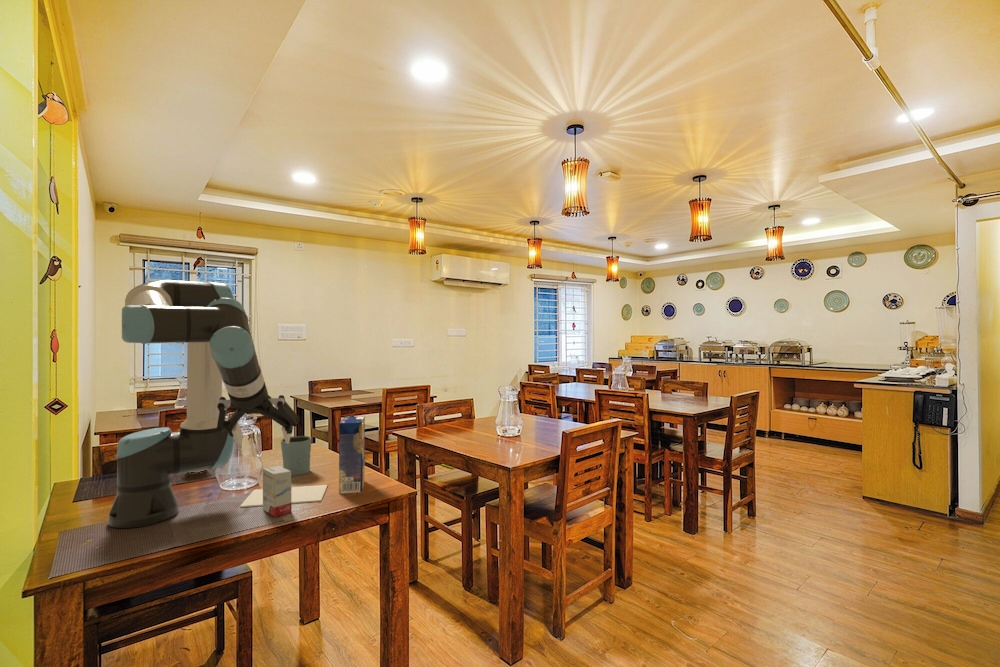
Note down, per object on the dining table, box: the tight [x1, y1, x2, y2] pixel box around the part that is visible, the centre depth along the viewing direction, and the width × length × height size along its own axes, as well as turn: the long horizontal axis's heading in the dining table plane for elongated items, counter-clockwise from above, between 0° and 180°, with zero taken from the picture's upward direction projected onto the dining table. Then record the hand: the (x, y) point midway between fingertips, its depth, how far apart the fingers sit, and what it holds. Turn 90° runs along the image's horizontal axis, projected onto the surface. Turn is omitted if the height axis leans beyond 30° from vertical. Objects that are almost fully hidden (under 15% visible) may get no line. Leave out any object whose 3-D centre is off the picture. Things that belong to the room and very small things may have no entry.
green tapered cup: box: [280, 435, 312, 477], centre depth 167 cm, size 10×10×12 cm
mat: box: [239, 484, 329, 508], centre depth 143 cm, size 22×14×1 cm, turn 103°
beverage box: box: [338, 415, 366, 495], centre depth 151 cm, size 7×11×22 cm, turn 12°
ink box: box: [262, 465, 292, 518], centre depth 131 cm, size 9×5×12 cm, turn 47°
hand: (264, 440), depth 118 cm, fingers open, 10 cm apart
